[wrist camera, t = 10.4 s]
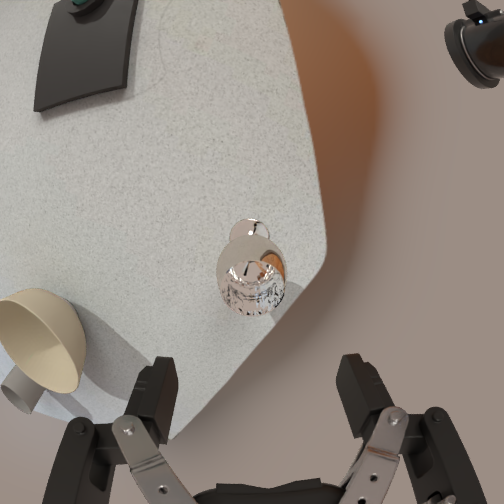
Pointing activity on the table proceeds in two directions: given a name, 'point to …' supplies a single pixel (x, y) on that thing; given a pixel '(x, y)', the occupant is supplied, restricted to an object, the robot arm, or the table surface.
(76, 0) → the power button
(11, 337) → the bowl
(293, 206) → the table surface
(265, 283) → the wineglass
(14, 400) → the cup
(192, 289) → the table surface
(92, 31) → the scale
